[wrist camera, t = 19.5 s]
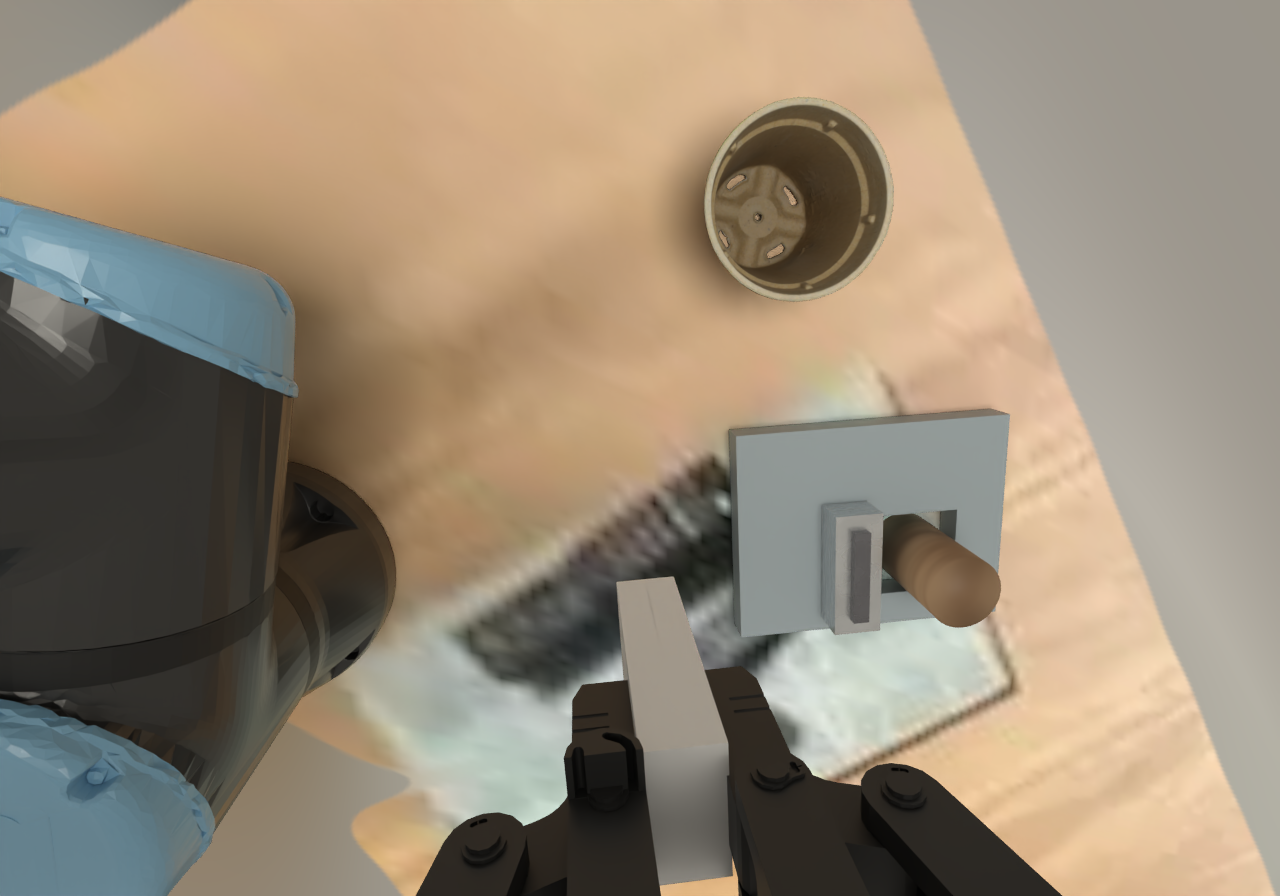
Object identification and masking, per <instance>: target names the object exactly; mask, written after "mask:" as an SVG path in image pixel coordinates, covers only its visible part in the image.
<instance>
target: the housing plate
mask: <svg viewBox="0 0 1280 896" xmlns="http://www.w3.org/2000/svg"><path fill="white" fill-rule="evenodd" d="M1009 420H1010V414H1007V413H1004V412H1000V411H997V410H994V409H983V410H970V411H958V412H945V413H932V414H920V415H907V416H895V417H882V418H869V419H857V420H844V421H832V422H819V423H806V424H794V425H781V426H768V427H756V428H743V429H731V430H729V446H730V481H731V516H732V551H733V585H734V620H735V625H736V627H737V629H738V631H739V634H740V636H741V637H750V636H760V635H770V634H779V633H789V632H799V631H809V630H818V629H828V628H829V626H828V625H827V624H826V622H825V621H824V619H823V618H822V617H821V557H822V505H823V504H834V503H845V502H857V501H868V502H869V503H870V504H872V505H873V506H874V507H876V508H877V509H878V510H880V511H881V512H882V513H883V516H890V515H901V514H912V513H923V512H934V511H941V518H940V531H941V532H943V533H944V534H946V535H947V536H949V537H950V538H952V539H953V540H955V541H956V542H958V543H959V544H960V545H962V546H963V547H965V548H966V549H968V550H969V551H971V552H972V553H974V554H975V555H977V556H978V557H980V558H981V559H983V560H984V561H985V562H987V563H988V564H990V565H991V566H992V567H993V568H994V569H995V570H996V572H997V574H998V567H999V553H1000V540H1001V527H1002V513H1003V500H1004V487H1005V473H1006V460H1007V446H1008V433H1009ZM995 607H996V606H995ZM994 611H995V608H994V609H993V610H992V612H994ZM926 618H935V617H934V616H933V615H932V614H931V613H930V612H929V611H928V610H927V609H926V608H925V607H924V606H923V605H922V604H920V603H919V602H918V601H917V600H916V599H915V598H914V597H913V596H912V595H911V594H910V593H909V592H908V591H906V590H905V589H904V588H903V587H902V586H901V585H900V584H899V583H898V582H897V581H896V580H895V579H887V580H881V613H880V623H887V622H896V621H906V620H916V619H926Z"/></svg>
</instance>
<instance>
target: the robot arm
mask: <svg viewBox="0 0 1280 896" xmlns="http://www.w3.org/2000/svg"><path fill="white" fill-rule="evenodd" d="M294 352H295V310H294V306H293V304H292V301H291V299H290V297H289V295H288V294H287V292H286V291H285V289H284V288H283V287H282V286H281V285H280V284H279V283H278V282H277V281H276V280H275V279H273V278H272V277H271V276H269V275H268V274H266V273H264V272H263V271H261V270H259V269H256V268H253V267H250V266H247V265H244V264H240V263H237V262H233V261H230V260H226V259H222V258H219V257H215V256H212V255H208V254H205V253H201V252H198V251H194V250H191V249H187V248H183V247H180V246H176V245H173V244H169V243H166V242H162V241H158V240H155V239H151V238H148V237H144V236H140V235H137V234H133V233H129V232H126V231H122V230H118V229H115V228H111V227H108V226H104V225H101V224H97V223H94V222H90V221H87V220H83V219H80V218H76V217H72V216H69V215H65V214H62V213H58V212H54V211H51V210H47V209H44V208H40V207H36V206H33V205H29V204H25V203H22V202H18V201H15V200H11V199H7V198H4V197H0V896H167V895H168V894H169V892H170V891H171V890H172V889H173V888H174V886H175V885H176V884H177V883H178V881H179V880H180V879H181V878H182V876H184V874H185V873H186V872H187V871H188V870H189V868H190V867H191V866H192V865H193V864H194V863H195V862H197V860H198V859H199V858H200V857H201V856H202V855H203V854H204V852H205V851H206V849H207V848H208V846H209V845H210V844H211V842H212V835H213V833H214V832H215V830H216V828H217V827H218V825H219V824H220V822H221V821H222V819H223V818H224V816H225V815H226V813H227V812H228V810H229V809H230V807H231V805H232V804H233V802H234V801H235V799H236V798H237V796H238V794H239V793H240V792H241V790H242V789H243V787H244V786H245V784H246V782H247V781H248V779H249V778H250V776H251V775H252V773H253V772H254V770H255V769H256V767H257V766H258V764H259V762H260V761H261V759H262V758H263V756H264V755H265V753H266V752H267V750H268V749H269V747H270V746H271V744H272V742H273V741H274V739H275V738H276V736H277V735H278V733H279V732H280V730H281V729H282V727H283V726H284V724H285V723H286V721H287V719H288V718H289V716H290V715H291V713H292V712H293V710H294V709H295V707H296V706H297V704H298V703H299V701H300V699H301V698H302V697H304V696H306V695H307V694H309V693H310V692H312V691H314V690H315V689H317V688H319V687H320V686H322V685H324V684H325V683H327V682H328V681H330V680H332V679H333V678H335V677H337V676H338V675H340V674H341V673H342V672H344V671H345V670H347V669H348V668H349V667H350V666H351V665H353V664H354V663H355V662H356V661H357V660H358V659H359V658H360V657H361V656H362V655H363V653H364V652H365V651H366V650H367V649H368V647H369V646H370V645H371V643H372V642H373V640H374V638H375V637H376V635H377V633H378V632H379V630H380V628H381V627H382V625H383V623H384V621H385V619H386V617H387V615H388V613H389V610H390V608H391V604H392V601H393V597H394V592H395V581H396V572H395V562H394V557H393V552H392V549H391V545H390V543H389V540H388V538H387V535H386V533H385V531H384V529H383V527H382V526H381V524H380V522H379V521H378V519H377V518H376V516H375V515H374V513H373V512H372V511H371V509H370V508H369V507H368V506H367V505H366V504H365V503H364V501H362V500H361V499H360V498H359V497H358V496H357V495H356V494H355V493H354V492H353V491H351V490H350V489H349V488H348V487H346V486H345V485H343V484H342V483H340V482H339V481H337V480H336V479H334V478H332V477H330V476H328V475H327V474H325V473H322V472H320V471H318V470H316V469H313V468H310V467H307V466H304V465H301V464H297V463H293V462H288V452H289V441H290V430H291V419H292V408H293V398H297V397H298V393H299V388H298V386H297V384H296V383H295V381H294ZM616 583H617V597H618V610H619V623H620V637H621V650H622V664H623V676H624V680H623V681H613V682H604V683H595V684H585V685H582V686H581V688H580V689H579V691H578V692H577V694H576V695H575V697H574V699H573V701H572V719H573V720H572V743H571V744H570V745H569V746H568V747H567V750H566V753H565V756H564V764H565V774H566V784H567V793H568V796H567V798H566V800H565V801H564V802H563V803H562V804H561V806H560V807H559V808H558V809H556V810H555V811H554V812H552V813H551V814H550V815H548V816H546V817H544V818H542V819H540V820H538V821H536V822H533V823H531V824H528V825H525V826H523V825H522V823H521V822H519V821H518V820H517V819H516V818H514V817H513V816H511V815H507V814H503V813H499V812H498V813H487V814H481V815H479V816H476V817H473V818H471V819H468V820H466V821H465V822H463V823H462V824H461V825H459V826H458V827H456V828H455V829H454V830H453V831H452V832H451V834H450V835H449V836H448V838H447V839H446V840H445V841H444V843H443V845H442V847H441V849H440V851H439V853H438V855H437V856H436V858H435V860H434V862H433V864H432V866H431V868H430V870H429V872H428V874H427V876H426V877H425V879H424V881H423V883H422V885H421V887H420V889H419V891H418V893H417V895H416V896H661V893H660V886H659V885H667V884H675V883H682V882H690V881H698V880H706V879H713V878H721V877H729V876H733V872H732V857H733V861H734V864H735V868H736V872H737V875H738V891H739V896H1062V895H1061V894H1060V893H1059V892H1058V891H1056V890H1055V889H1054V888H1053V887H1052V886H1051V885H1050V884H1049V883H1048V882H1047V881H1046V880H1044V879H1043V878H1042V877H1041V876H1040V875H1039V874H1038V873H1037V872H1036V871H1035V870H1034V869H1032V868H1031V867H1030V866H1029V865H1028V864H1027V863H1026V862H1025V861H1024V860H1023V859H1022V858H1020V857H1019V856H1018V855H1017V854H1016V853H1015V852H1014V851H1013V850H1012V849H1011V848H1010V847H1008V846H1007V845H1006V844H1005V843H1004V842H1003V841H1002V840H1001V839H1000V838H999V837H998V836H996V835H995V834H994V833H993V832H992V831H991V830H990V829H989V828H988V827H987V826H986V825H984V824H983V823H982V822H981V821H980V820H979V819H978V818H977V817H976V816H975V815H974V814H972V813H971V812H970V811H969V810H968V809H967V808H966V807H965V806H964V805H963V804H961V803H960V802H959V801H958V800H957V799H956V798H955V797H954V796H953V795H952V794H951V793H949V792H948V791H947V790H946V789H945V788H944V787H943V786H942V785H941V784H940V783H939V782H937V781H936V780H935V779H934V778H932V777H931V776H929V775H928V774H926V773H925V772H923V771H921V770H919V769H916V768H913V767H911V766H908V765H902V764H894V763H889V764H883V765H877V766H875V767H873V768H871V769H870V770H868V771H866V773H865V775H864V776H863V778H862V780H861V786H859V785H852V784H844V783H837V782H832V781H827V780H824V779H821V778H819V777H816V776H814V775H812V773H811V771H810V770H809V768H808V767H807V766H806V764H805V763H804V762H803V761H802V760H800V759H799V758H797V757H796V756H794V755H792V754H791V753H790V751H789V749H788V747H787V744H786V742H785V740H784V738H783V736H782V733H781V731H780V729H779V727H778V725H777V722H776V720H775V718H774V716H773V714H772V711H771V710H770V709H769V705H768V703H767V700H766V698H765V697H764V694H763V692H762V689H761V687H760V685H759V683H758V681H757V679H756V678H755V677H754V676H753V675H752V674H750V673H749V672H748V671H747V670H745V669H744V668H743V667H742V666H739V667H730V668H720V669H711V670H704V668H703V665H702V661H701V658H700V655H699V652H698V649H697V646H696V643H695V640H694V637H693V634H692V631H691V628H690V625H689V622H688V619H687V616H686V613H685V610H684V607H683V604H682V601H681V598H680V595H679V592H678V589H677V586H676V583H675V580H674V577H664V578H654V579H643V580H633V581H622V582H616Z"/></svg>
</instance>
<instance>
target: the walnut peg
mask: <svg viewBox="0 0 1280 896" xmlns="http://www.w3.org/2000/svg"><path fill="white" fill-rule="evenodd" d="M882 568H883V569H884V570H885V571H886V572H887V573H888V574H889V575H890V576H891V577H893V578H894V579H895V580H896V581H897V582H898V583H899V584H900V585H901V586H902V587H903V588H904V589H905V590H906V591H908V592H909V593H910V594H911V595H912V596H913V597H914V598H915V599H916V600H917V601H918V602H919V603H920V604H922V605H923V606H924V607H925V608H926V609H927V610H928V611H929V612H930V613H931V614H932V615H933V616H934V617H935V618H937V619H938V620H939V621H940V622H941V623H943V624H945V625H948V626H951V627H968V626H971V625H974V624H976V623H978V622H980V621H982V620H983V619H984V618H986V617H987V616H988V615H989V614H990V613H991V612H992V610H993V609H994V608H995V606H996V604H997V602H998V600H999V597H1000V592H1001V583H1000V579H999V576H998V574H997V572H996V570H995V569H994V568H993V567H992V566H991V565H990V564H988V563H987V562H985V561H984V560H983V559H981V558H980V557H978V556H977V555H975V554H974V553H972V552H971V551H969V550H968V549H966V548H965V547H963V546H962V545H960V544H959V543H958V542H956V541H955V540H953V539H952V538H950V537H949V536H947V535H946V534H944V533H943V532H941V531H940V530H938V529H937V528H936V527H934V526H933V525H931V524H930V523H928V522H927V521H925V520H924V519H922V518H921V517H919V516H917V515H915V514H901V515H892V516H890V517H888V518H887V519H885V520H884V521H883V545H882Z"/></svg>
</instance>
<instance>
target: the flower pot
mask: <svg viewBox="0 0 1280 896" xmlns="http://www.w3.org/2000/svg"><path fill="white" fill-rule="evenodd" d="M737 175H745V180H743V181H741V182H740V183H738V184H737V185H735V186H734V187H733V188H732V189H730V190H729V189H728V188H727V184H728V182H729V181H730V180H731V179H732V178H734V177H735V176H737ZM785 186H786V187H787V188H788V189H789V190H791V192H792V193H793V195H794V196H795V198H796V200H797V204H796V206H794V205H791V204H790V202H789V198H788V196H787V195H786V193H785V192H784V190H783V189H784V187H785ZM893 193H894V187H893V179H892V175H891V171H890V165H889V162H888V160H887V157H886V155H885V152H884V150H883V148H882V146H881V144H880V143H879V141H878V139H877V138H876V136H875V135H874V133H873V132H872V131H871V129H870V128H869V127H868V126H867V125H866V124H865V123H864V122H863V121H862V120H861V119H860V118H859V117H857V116H856V115H855V114H854V113H852V112H851V111H849V110H847V109H846V108H844V107H842V106H840V105H838V104H836V103H834V102H831V101H827V100H823V99H817V98H811V97H797V98H790V99H785V100H780V101H777V102H774V103H772V104H769V105H767V106H765V107H763V108H762V109H760V110H758V111H756V112H754V113H753V114H752V115H750V116H749V117H747V118H746V119H745V120H744V121H742V122H741V123H740V124H739V125H738V126H737V127H736V128H735V129H734V130H733V131H732V132H731V134H730V135H729V136H728V137H727V139H726V140H725V141H724V143H723V144H722V146H721V147H720V149H719V151H718V153H717V155H716V156H715V158H714V160H713V163H712V165H711V168H710V171H709V174H708V177H707V181H706V187H705V193H704V214H705V222H706V228H707V232H708V235H709V239H710V241H711V244H712V247H713V249H714V251H715V253H716V255H717V257H718V258H719V260H720V262H721V263H722V264H723V266H724V267H725V268H726V269H727V270H728V272H729V273H730V274H731V275H732V276H733V277H734V278H735V279H736V280H737V281H738V282H740V283H741V284H742V285H744V286H745V287H747V288H748V289H750V290H751V291H754V292H755V293H757V294H760V295H762V296H765V297H768V298H771V299H775V300H781V301H792V302H798V301H808V300H814V299H817V298H821V297H824V296H826V295H829V294H832V293H834V292H836V291H838V290H839V289H841V288H843V287H844V286H846V285H847V284H849V283H850V282H851V281H852V280H854V279H855V278H856V277H857V276H859V275H860V274H861V273H862V272H863V270H864V269H865V268H866V267H867V266H868V265H869V264H870V262H871V261H872V259H873V258H874V256H875V255H876V253H877V251H878V250H879V249H880V246H881V245H882V243H883V241H884V238H885V237H886V234H887V231H888V228H889V224H890V221H891V216H892V211H893ZM756 214H760V215H761V216H762V218H761V220H760V221H757V220H756V219H755V215H756ZM720 230H721V231H722V233H723V234H724V236H725V237H728V238H727V241H728V243H729V247H728V248H726V246H725V245H724V243H723V242H722V240H721V238H720V236H719V232H720ZM780 244H782V245H783V246H784V248H785V249H784V251H783V252H782V253H781V254H779V255H777V256H774V257H773V258H769V259H768V256H767V253H768V252H769V251H771V250H772V249H774V248H776V247H777V246H778V245H780Z"/></svg>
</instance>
